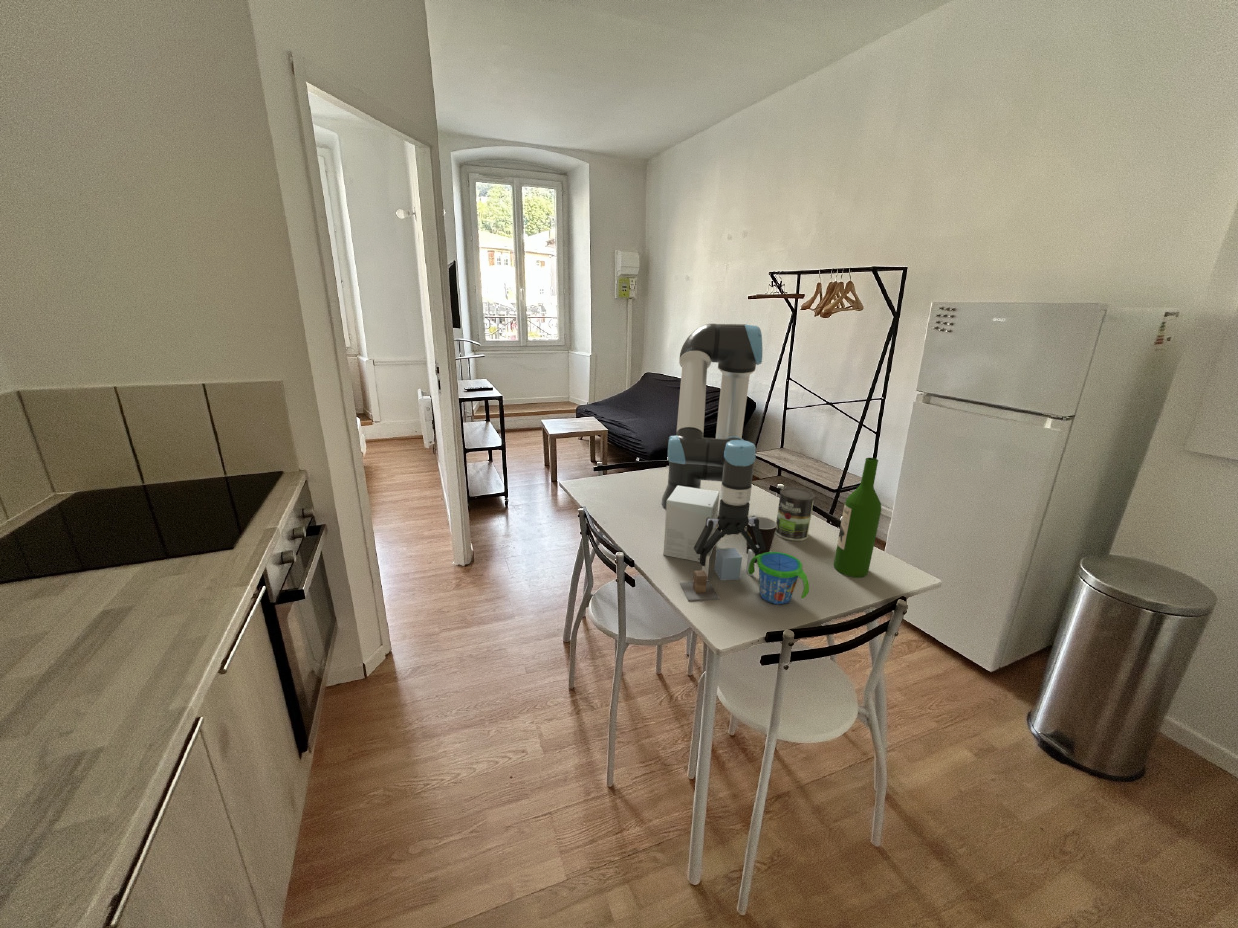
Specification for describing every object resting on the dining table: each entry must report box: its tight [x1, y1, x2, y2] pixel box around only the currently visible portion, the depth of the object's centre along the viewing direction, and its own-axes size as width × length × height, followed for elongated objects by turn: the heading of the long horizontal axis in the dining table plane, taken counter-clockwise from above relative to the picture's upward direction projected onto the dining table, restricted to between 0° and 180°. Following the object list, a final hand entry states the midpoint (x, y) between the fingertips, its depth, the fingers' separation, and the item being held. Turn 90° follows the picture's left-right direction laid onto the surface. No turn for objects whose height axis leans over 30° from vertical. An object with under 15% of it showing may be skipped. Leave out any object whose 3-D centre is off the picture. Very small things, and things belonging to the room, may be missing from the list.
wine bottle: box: [833, 457, 882, 578], centre depth 133 cm, size 9×9×32 cm
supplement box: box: [662, 485, 720, 563], centre depth 144 cm, size 13×13×18 cm
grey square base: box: [679, 569, 720, 602], centre depth 125 cm, size 8×8×5 cm
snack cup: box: [748, 551, 810, 605], centre depth 122 cm, size 16×10×10 cm
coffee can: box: [775, 487, 816, 542], centre depth 157 cm, size 10×10×14 cm
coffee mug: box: [745, 515, 777, 555], centre depth 145 cm, size 12×9×10 cm
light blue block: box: [714, 547, 743, 581], centre depth 133 cm, size 5×5×7 cm
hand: (727, 574), depth 133 cm, fingers open, 12 cm apart
